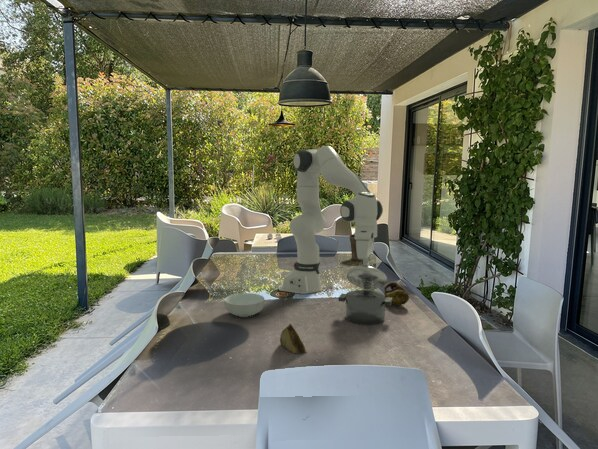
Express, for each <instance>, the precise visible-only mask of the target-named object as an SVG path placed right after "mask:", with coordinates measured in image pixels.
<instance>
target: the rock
mask: <svg viewBox="0 0 598 449" xmlns="http://www.w3.org/2000/svg"><path fill="white" fill-rule="evenodd" d="M279 343H280V345H281V346H283V347H284V348H285V349H287V350H288V351H290V352H292V353H294V354H306V353H307V351H306V347H305V344H304V343H303V341H302V339H301V337H300V335H299V334H298V333H297V331H296V329H295V328H294V327H293V325H292V323H289V324H288V325H287V327H284V329H283V330H282V331H281V333H280V338H279Z"/></svg>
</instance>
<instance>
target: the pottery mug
mask: <svg viewBox="0 0 598 449" xmlns="http://www.w3.org/2000/svg"><path fill="white" fill-rule="evenodd" d="M388 288H390V290H387V289H388ZM395 290H404V291H405V289H404V287H403V286H401V285H400V284H399V283H398V282H397V281H396V282H395V281H392V282H389V283H386V284H385V285H384V292H383V294H384V295H386V294H387V293H390V292H393V291H395Z"/></svg>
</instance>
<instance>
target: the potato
mask: <svg viewBox="0 0 598 449" xmlns="http://www.w3.org/2000/svg"><path fill="white" fill-rule="evenodd" d="M386 297H390V298H392V303H391V305H395V306H401V305H406V303H407V302H409V300H410V296H409V293H408V292H407V291H406V290H405V289H404V290H395V291H393V292H390V293H387V294H386V295H385V299H386Z"/></svg>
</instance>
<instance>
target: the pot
mask: <svg viewBox="0 0 598 449" xmlns="http://www.w3.org/2000/svg"><path fill="white" fill-rule="evenodd" d="M338 302H343V303H344V302H345V320H346V321H348V322H349V323H352V324H356V325H361V326H371V325H372V326H373V325H379V324H382V323H383V322H385V319H386V316H385V315H386V306H389V307H391V305H392V298H390V297H386V299H385V295H384V292H380V291H377V290H376V289H373V290H372V289H364V288H362V289H357V290H354V289H353V290H350V291H348V292H346V293H341V294H340V295H339V296H338Z"/></svg>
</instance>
